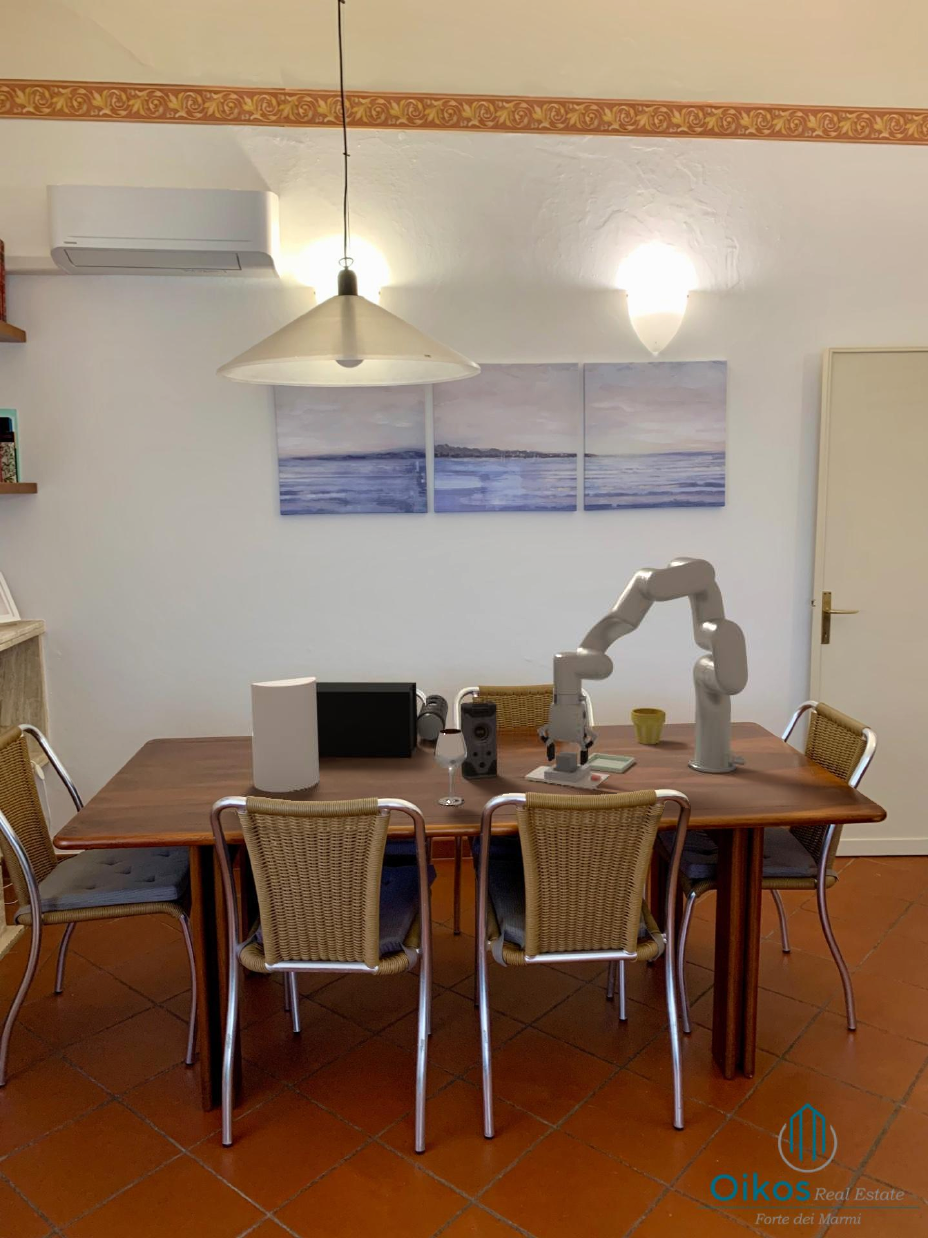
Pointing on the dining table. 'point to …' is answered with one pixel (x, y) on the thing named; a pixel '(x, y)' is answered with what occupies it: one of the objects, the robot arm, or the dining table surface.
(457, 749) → the wineglass
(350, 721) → the uninterruptible power supply
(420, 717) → the muzzle brake
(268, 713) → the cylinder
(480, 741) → the electronic device
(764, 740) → the dining table surface
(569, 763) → the plug
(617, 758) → the tray
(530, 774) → the plate with square socket
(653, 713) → the plant pot
